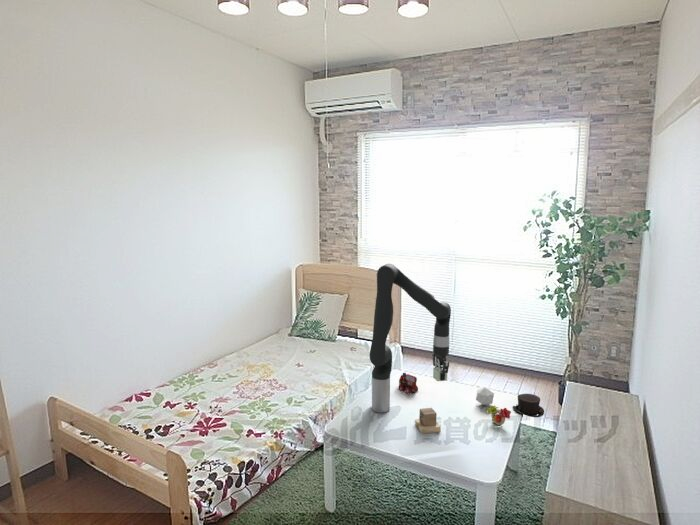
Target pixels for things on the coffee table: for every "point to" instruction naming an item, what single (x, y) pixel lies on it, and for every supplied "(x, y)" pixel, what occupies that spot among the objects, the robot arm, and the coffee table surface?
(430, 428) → the oak plinth
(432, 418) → the walnut block
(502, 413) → the red and green cluster
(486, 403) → the die
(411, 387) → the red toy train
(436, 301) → the robot arm
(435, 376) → the sage green block
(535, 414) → the top hat
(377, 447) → the coffee table surface
